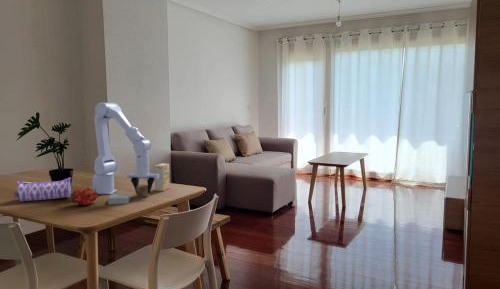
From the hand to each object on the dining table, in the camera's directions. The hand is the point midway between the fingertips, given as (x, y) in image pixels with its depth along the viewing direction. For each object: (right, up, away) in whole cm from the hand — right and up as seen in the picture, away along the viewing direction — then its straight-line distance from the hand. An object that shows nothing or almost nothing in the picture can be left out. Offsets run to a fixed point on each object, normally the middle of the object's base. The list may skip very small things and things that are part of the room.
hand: (143, 193), depth 175 cm
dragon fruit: (-21, -3, -15) cm, 26 cm away
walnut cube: (0, -1, 0) cm, 1 cm away
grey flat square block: (-8, -3, -10) cm, 13 cm away
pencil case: (-43, -2, -7) cm, 43 cm away
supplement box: (+6, 0, +14) cm, 15 cm away
